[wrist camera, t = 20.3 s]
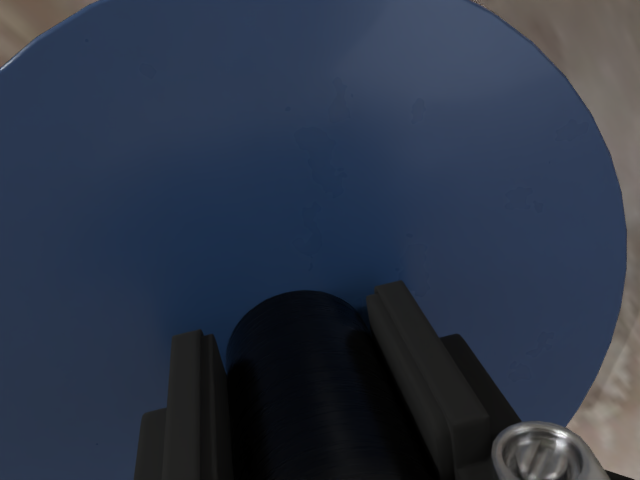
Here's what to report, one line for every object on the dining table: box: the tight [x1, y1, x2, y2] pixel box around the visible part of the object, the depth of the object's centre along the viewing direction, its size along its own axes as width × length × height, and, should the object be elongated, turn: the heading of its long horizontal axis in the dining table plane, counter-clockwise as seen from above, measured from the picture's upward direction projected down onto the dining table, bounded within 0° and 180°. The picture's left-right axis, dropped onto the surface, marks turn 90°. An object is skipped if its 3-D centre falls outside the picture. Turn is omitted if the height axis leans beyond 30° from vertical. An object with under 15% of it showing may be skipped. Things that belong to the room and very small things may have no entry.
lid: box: [0, 0, 627, 480], centre depth 10 cm, size 15×15×7 cm
